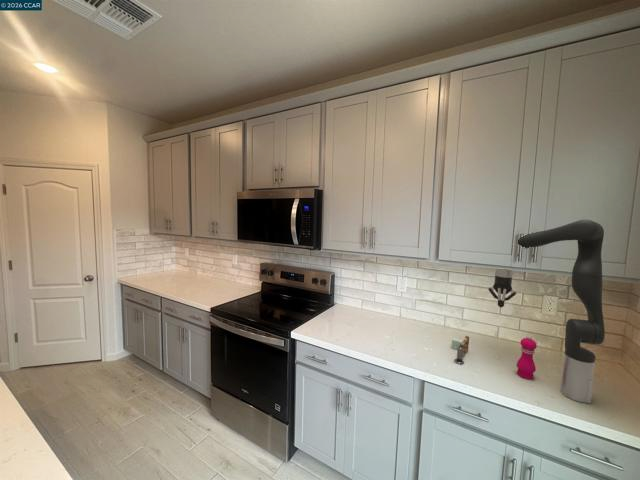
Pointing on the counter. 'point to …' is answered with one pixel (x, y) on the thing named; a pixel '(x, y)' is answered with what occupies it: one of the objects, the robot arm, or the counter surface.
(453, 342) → the block
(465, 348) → the gate
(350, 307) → the counter surface
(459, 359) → the hinge post
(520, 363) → the pepper mill
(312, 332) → the counter surface
